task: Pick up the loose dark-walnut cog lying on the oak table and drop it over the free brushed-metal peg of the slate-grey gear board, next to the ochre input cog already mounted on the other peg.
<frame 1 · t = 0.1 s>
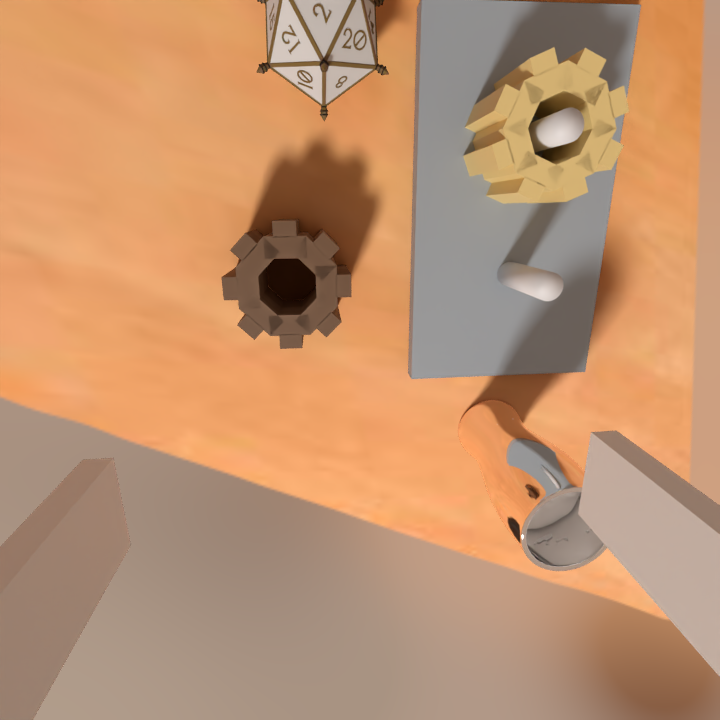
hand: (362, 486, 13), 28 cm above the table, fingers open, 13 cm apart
walnut gear: (292, 276, 38), on the table
gear board: (507, 210, 38), on the table
game die: (321, 54, 33), on the table
beer glass: (487, 427, 44), on the table
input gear: (520, 141, 35), resting on gear board
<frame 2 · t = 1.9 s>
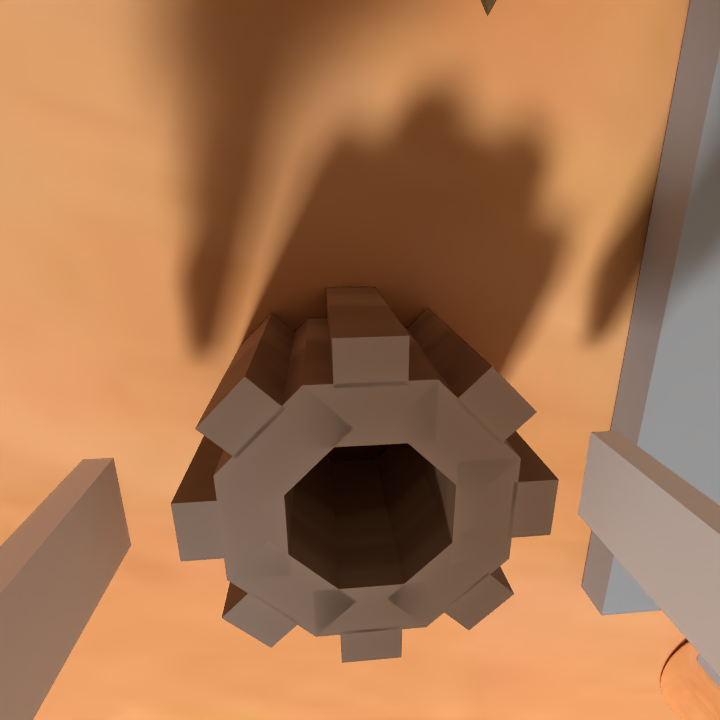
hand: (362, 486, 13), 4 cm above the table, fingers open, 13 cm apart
walnut gear: (352, 411, 16), on the table
beer glass: (713, 664, 23), on the table
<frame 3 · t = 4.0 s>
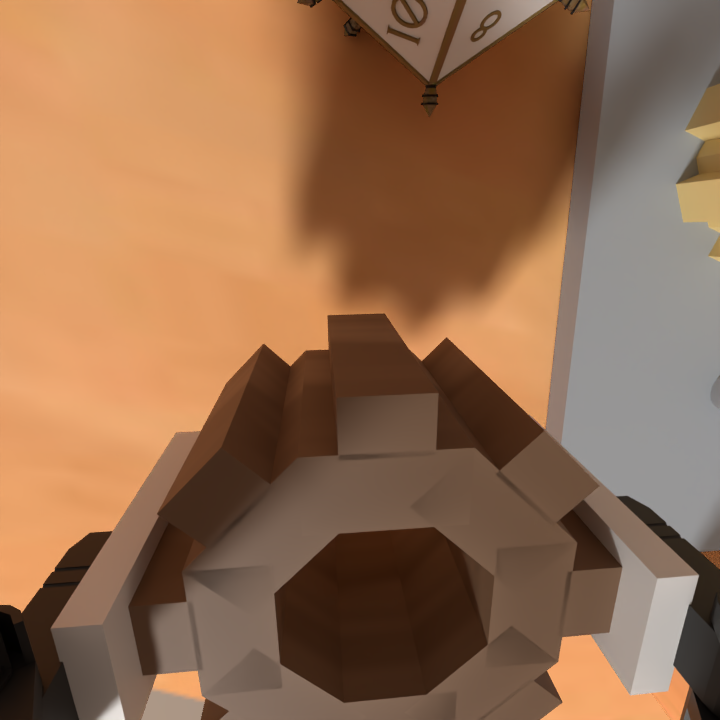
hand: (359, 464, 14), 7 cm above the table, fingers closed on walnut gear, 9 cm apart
walnut gear: (358, 457, 14), point 7 cm above the table, touching gripper
beer glass: (652, 617, 27), on the table
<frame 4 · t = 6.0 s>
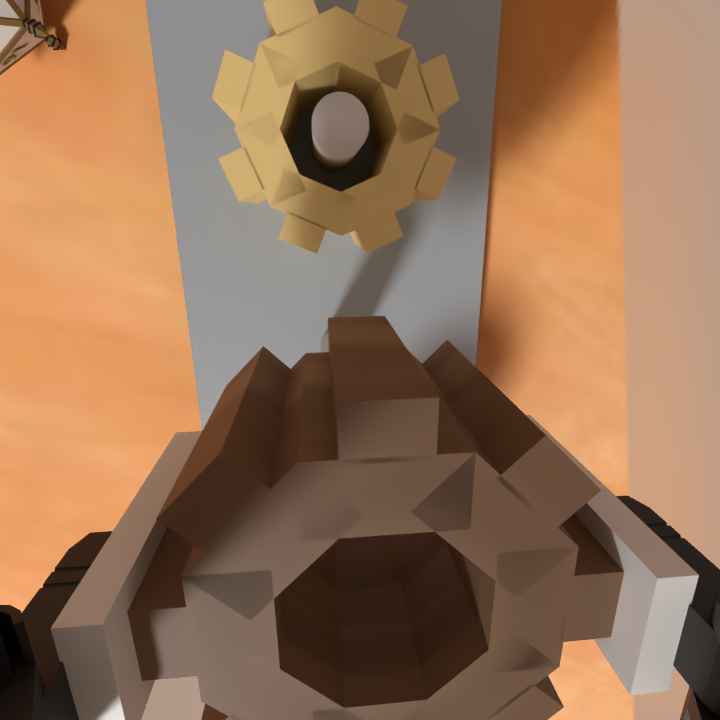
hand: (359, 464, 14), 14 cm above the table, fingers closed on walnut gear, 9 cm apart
walnut gear: (358, 459, 14), point 14 cm above the table, touching gripper
gear board: (334, 251, 25), on the table
game die: (1, 11, 21), on the table
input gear: (333, 149, 22), resting on gear board
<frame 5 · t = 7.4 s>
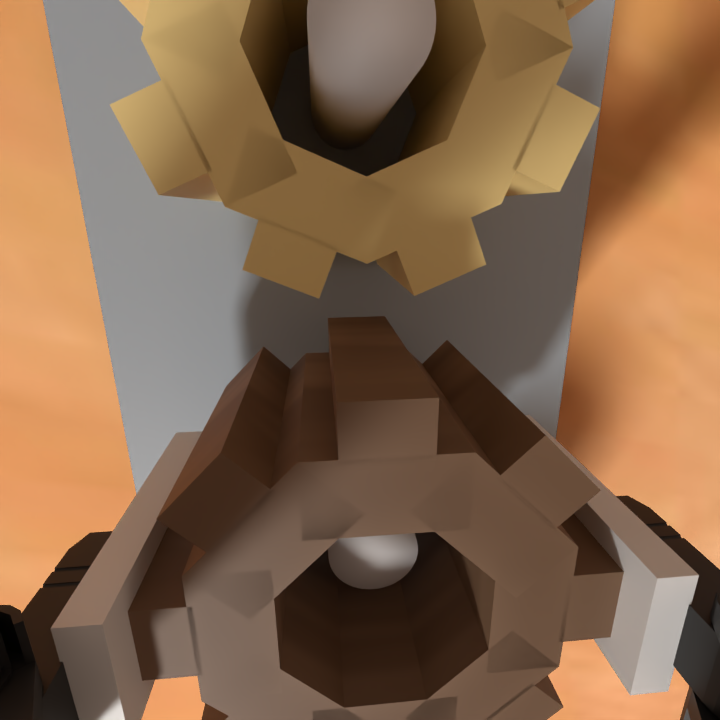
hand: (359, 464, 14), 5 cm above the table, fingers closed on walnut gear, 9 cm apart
walnut gear: (358, 459, 14), point 4 cm above the table, touching gripper
gear board: (345, 275, 17), on the table
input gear: (344, 113, 14), resting on gear board
when the fingers open (3 cm above the table, at t = 8.2 s): walnut gear drops 1 cm, resting on gear board.
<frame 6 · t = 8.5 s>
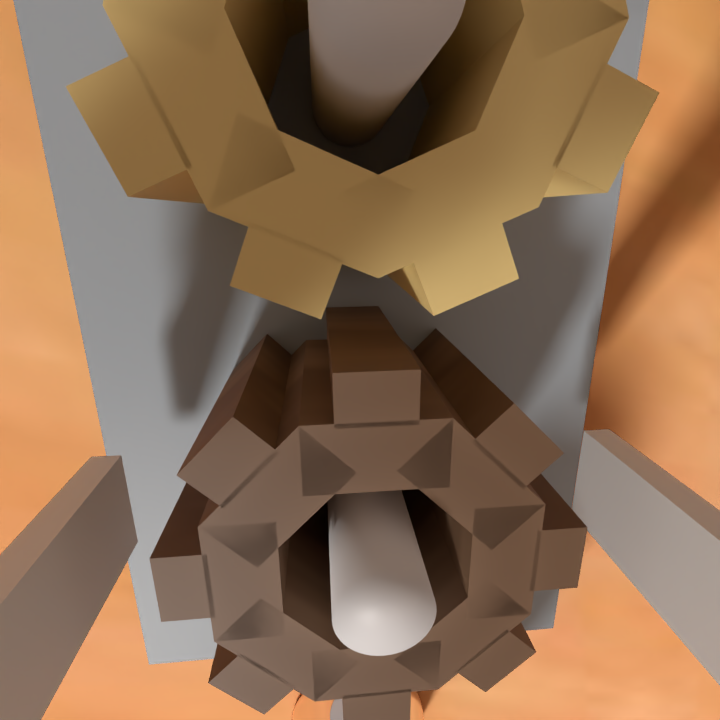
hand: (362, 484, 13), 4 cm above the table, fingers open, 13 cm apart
walnut gear: (354, 439, 15), point 1 cm above the table, touching gear board
gear board: (349, 284, 15), on the table
beer glass: (356, 709, 21), on the table
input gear: (349, 105, 12), resting on gear board
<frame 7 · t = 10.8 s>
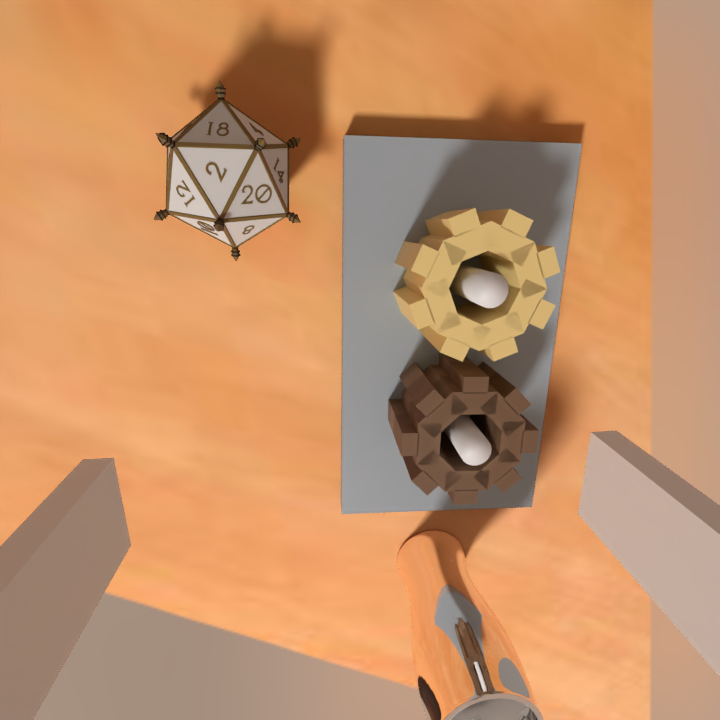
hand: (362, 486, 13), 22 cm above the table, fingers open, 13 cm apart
walnut gear: (445, 408, 35), point 1 cm above the table, touching gear board
gear board: (445, 341, 35), on the table
game die: (240, 184, 31), on the table
beer glass: (429, 557, 41), on the table
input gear: (455, 277, 32), resting on gear board
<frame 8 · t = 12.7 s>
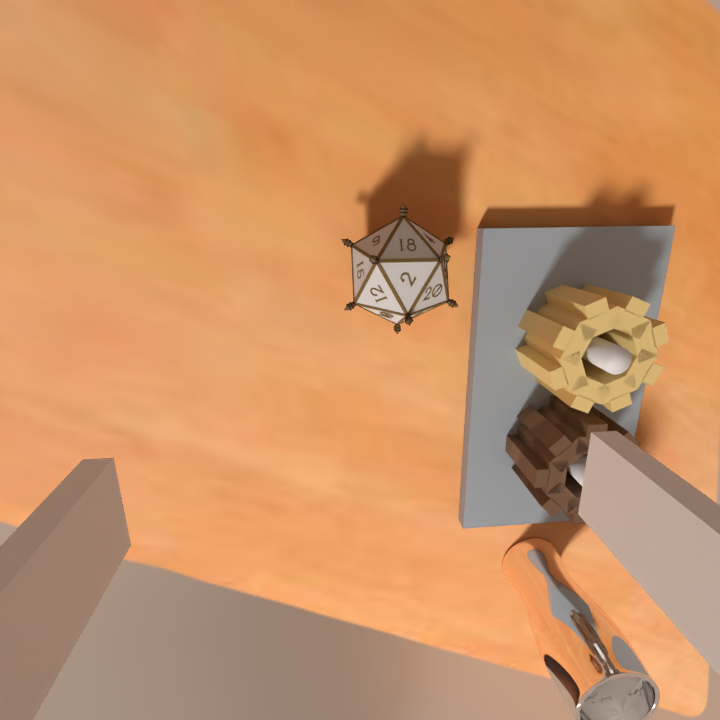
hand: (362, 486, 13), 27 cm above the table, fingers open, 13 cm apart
walnut gear: (553, 440, 42), point 1 cm above the table, touching gear board
gear board: (551, 384, 42), on the table
game die: (391, 266, 38), on the table
beer glass: (528, 560, 48), on the table
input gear: (566, 336, 39), resting on gear board
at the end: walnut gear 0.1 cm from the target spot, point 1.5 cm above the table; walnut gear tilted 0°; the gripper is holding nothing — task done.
